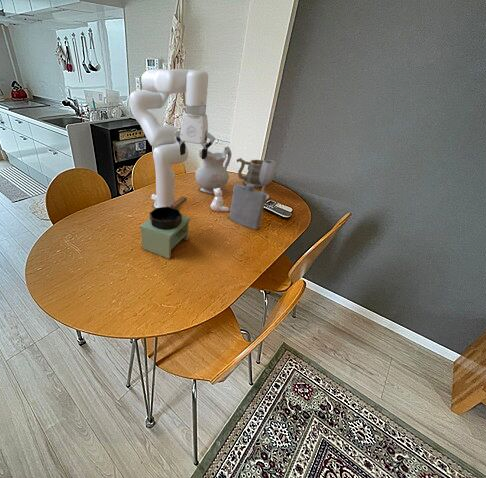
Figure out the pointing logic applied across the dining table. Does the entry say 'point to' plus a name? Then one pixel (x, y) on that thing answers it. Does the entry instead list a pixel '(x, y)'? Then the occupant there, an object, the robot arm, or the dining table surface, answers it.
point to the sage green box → (163, 237)
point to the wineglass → (266, 174)
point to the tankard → (251, 172)
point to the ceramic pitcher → (213, 171)
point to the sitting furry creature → (218, 201)
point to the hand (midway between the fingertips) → (193, 156)
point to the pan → (167, 215)
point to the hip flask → (247, 205)
